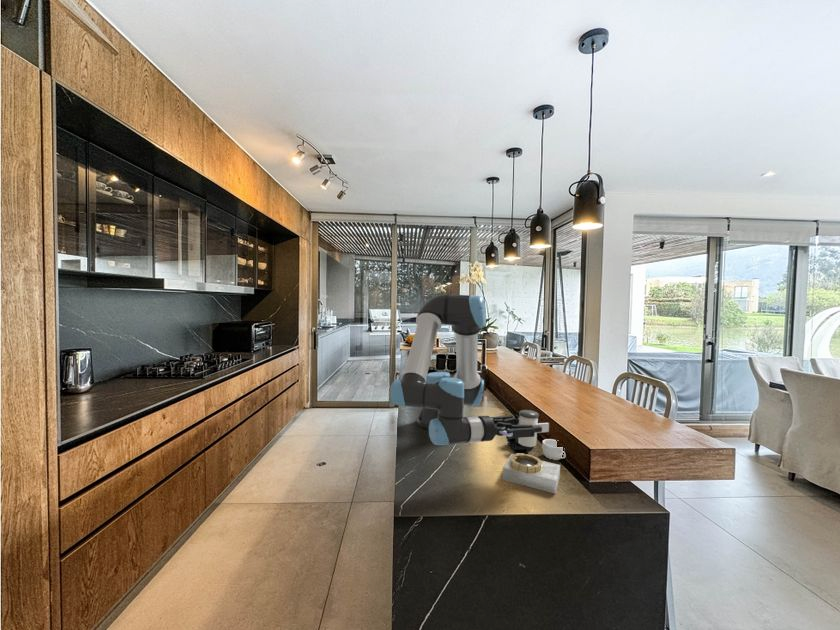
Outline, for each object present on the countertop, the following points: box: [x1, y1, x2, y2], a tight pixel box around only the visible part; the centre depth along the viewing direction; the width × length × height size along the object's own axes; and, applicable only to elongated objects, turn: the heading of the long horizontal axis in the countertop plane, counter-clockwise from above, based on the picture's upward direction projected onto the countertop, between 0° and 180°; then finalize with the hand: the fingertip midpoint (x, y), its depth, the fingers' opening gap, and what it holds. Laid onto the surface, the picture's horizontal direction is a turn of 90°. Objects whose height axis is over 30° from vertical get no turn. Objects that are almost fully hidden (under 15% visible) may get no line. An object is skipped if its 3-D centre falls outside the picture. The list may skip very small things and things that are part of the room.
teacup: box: [541, 438, 567, 461], centre depth 133 cm, size 10×8×5 cm
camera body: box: [501, 453, 561, 494], centre depth 117 cm, size 16×12×6 cm
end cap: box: [506, 438, 535, 454], centre depth 141 cm, size 10×7×7 cm
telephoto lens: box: [518, 409, 540, 447], centre depth 118 cm, size 6×6×10 cm
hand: (541, 423), depth 119 cm, fingers closed on telephoto lens, 6 cm apart
